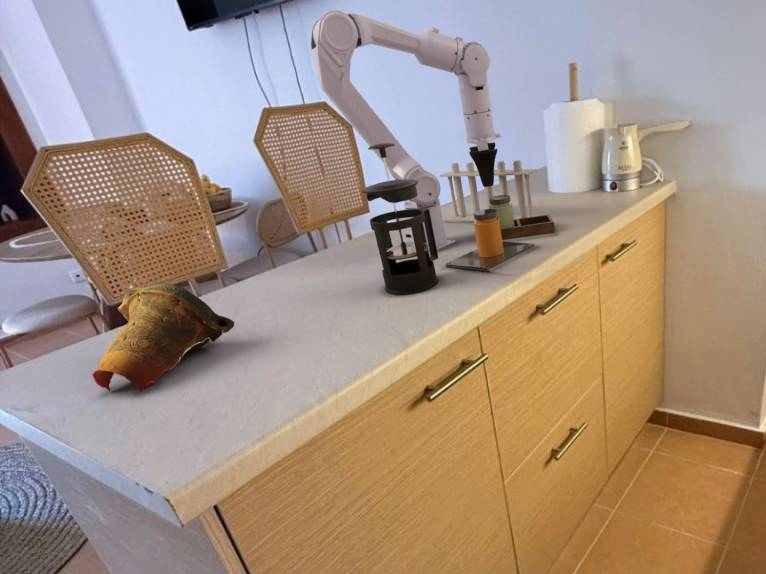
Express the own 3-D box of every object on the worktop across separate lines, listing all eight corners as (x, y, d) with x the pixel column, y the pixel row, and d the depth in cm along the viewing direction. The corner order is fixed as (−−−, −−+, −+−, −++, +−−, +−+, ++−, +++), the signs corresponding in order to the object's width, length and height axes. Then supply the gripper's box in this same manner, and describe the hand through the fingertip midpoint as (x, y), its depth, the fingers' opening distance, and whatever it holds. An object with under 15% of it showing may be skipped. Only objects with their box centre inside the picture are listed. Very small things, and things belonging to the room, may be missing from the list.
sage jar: (506, 239, 114) (501, 200, 110) (488, 237, 117) (482, 199, 113) (520, 232, 117) (515, 194, 113) (501, 231, 120) (497, 194, 116)
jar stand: (487, 244, 114) (486, 231, 113) (486, 235, 120) (485, 223, 119) (555, 235, 114) (554, 221, 113) (550, 226, 120) (549, 214, 119)
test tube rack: (447, 221, 137) (437, 165, 131) (458, 216, 140) (448, 161, 134) (532, 224, 124) (525, 162, 118) (542, 219, 127) (536, 158, 121)
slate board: (487, 272, 98) (487, 268, 97) (446, 267, 103) (445, 263, 103) (534, 247, 108) (534, 243, 107) (494, 244, 113) (494, 240, 113)
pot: (24, 341, 67) (116, 253, 79) (67, 397, 76) (144, 310, 87) (163, 373, 67) (235, 280, 79) (190, 425, 76) (251, 335, 88)
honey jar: (493, 258, 102) (487, 215, 98) (473, 256, 105) (466, 214, 101) (508, 250, 105) (503, 208, 102) (488, 248, 108) (483, 208, 104)
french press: (405, 299, 90) (371, 149, 79) (371, 291, 96) (334, 150, 85) (456, 276, 98) (431, 136, 87) (421, 270, 104) (394, 138, 92)
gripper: (498, 111, 104) (508, 186, 111) (495, 107, 117) (504, 174, 124) (462, 117, 104) (474, 191, 111) (462, 112, 117) (473, 179, 124)
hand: (487, 183), depth 117 cm, fingers open, 7 cm apart
